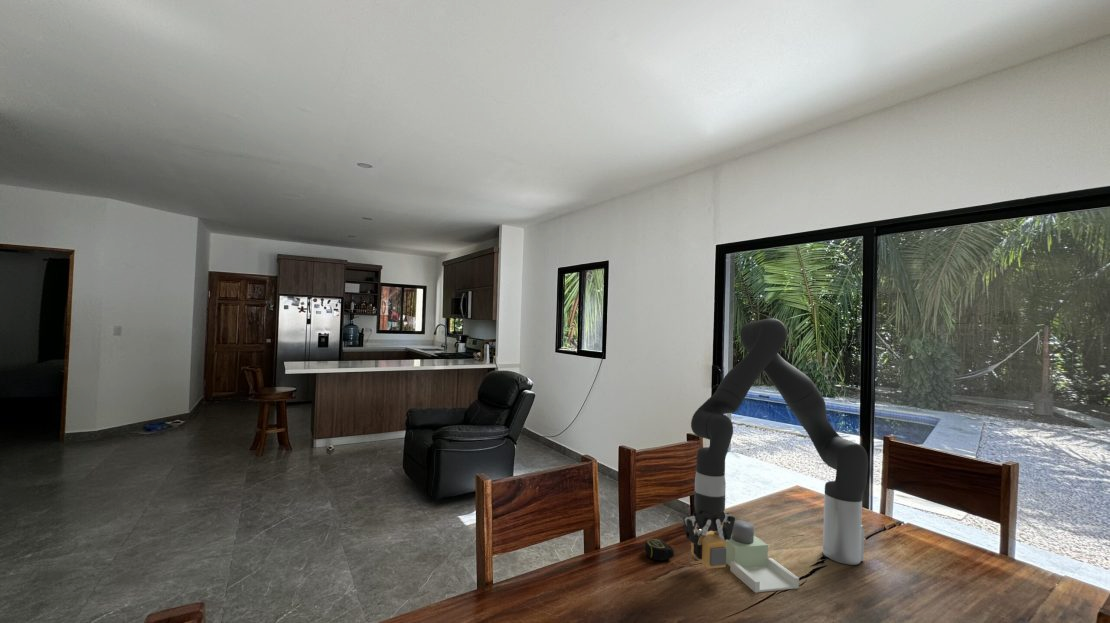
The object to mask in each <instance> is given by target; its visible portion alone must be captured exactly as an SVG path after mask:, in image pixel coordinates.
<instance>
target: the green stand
mask: <svg viewBox="0 0 1110 623" xmlns="http://www.w3.org/2000/svg"><path fill="white" fill-rule="evenodd" d="M725 542H726V566H729V568H730V572H731V573H732V574H733V575H734V576H736V577H737V578H738V579H739V580H740V581H741V582H742V583H743V584H744V585H746V587H748V588H749V589H751V590H752V591H753V592H754V593H756V594H757V593H765V592H773V591H774V592H775V591H783V590H794V589H796V590H797V589H799V588H800V578H799V577H798V576H797V575H795V574H794V573H793V572H792V571H790V570H789V569H787V568H786V567H785V566H783V565H782V564H781V563H779V562H778V561H777V560H776V559H773V558H772V557H768V554H769V544H767V543H766V542H765V541H763V540H762V539H760V538H759V537H757V536H756V535H755V525H754V524H752V523H751V522H748V521H746V520H740V519H737V520H736V519H735V522H734V526H733V530H732V535H731V539H730V540H725Z"/></svg>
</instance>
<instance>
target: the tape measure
mask: <svg viewBox="0 0 1110 623" xmlns="http://www.w3.org/2000/svg"><path fill="white" fill-rule="evenodd" d="M644 552H645V554H646V556H647V557H649V558H650V559H652V560H656V561H665V560H668V559H669V560H670V559H672V558H673V557H674V556H675V551H674V548H673V547H671V545H669V544H668V543H666V542H665V541H664V540H663V539H662V538H650V539H648V540H646V541H645V544H644Z"/></svg>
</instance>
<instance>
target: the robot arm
mask: <svg viewBox="0 0 1110 623" xmlns="http://www.w3.org/2000/svg"><path fill="white" fill-rule="evenodd" d="M739 334H740V335H739V336H740V341H741V342H742V343H741V344H742V345H743V348H744V349H745V350H746V352H748V353H747V354H746V355H745V357H743V358H742V360H740V361H739V362H737V363H736V365H735V366H734V367H732V368H731V369H730V370H729V371H728V373H726V374H725V376H724V377H723V378H722V380H721V382H720V384H719V385H718V386H717V388H716V390H715V391H714V393H713V394H712V396H710V397H709V398H707V400H706V401H705V402H704V403H703V404H701V405H700V407H698V408H697V410H696V411H695V412H694V413H693V415H692V418H691V420H690V428H691V430H692V432H693V434H694V435H695V436H697V437H700V438H702V439H706V440H709V441H710V444H709V446H708V447H706V446H705V447H701V448H699V449H698V450H697V452H696V467H695V476H694V477H695V479H694V502H693V505H694V512H693V515H691V516H687V515H686V516H683V518H682V521H683V525H684V531H685V537H686V539H687V540H689V541H690V543H691V542H692V543H694V555H695V556H696V557H697V558H698V559H702V545H701V544H702V541H703V538H704V537H705V536H706V534H707V532H709V531H712V532H713V533H714V534H716V535H717V536H718V537H719V538H721V539H722V540H724V541H725V540H730V539H731V535H732V530H733V526H734V522H735V520H736V517H735V516H734V515H732V514H730V513H725V510H726V490H727V489H726V487H727V486H726V485H727V484H726V457H727V455H728V450H729V448H730V445H731V441H732V438H733V435H734V425H733V422H732V420H731V419H730V418H729V416H727V414H734V413H736V412H738V410H739V408H740V407H741V405H742V403H743V401H744V400H745V398H746V397H747V395H748V393H749V391H750V390H751V388H752V386H753V385H754V383H755V382H756V381H757V379H758V377H760V376H761V374H762V373H763V372H764V373H765V374H766V376H767V377H768V379H769V380H770V381H771V382H772V384H773V385H774V387H775V388H776V390H777V391H778V393H779V394H780V396H781V397H782V399H783V400H784V402H785V404H786V405H787V406H788V407H789V409H790V411H791V412H792V413H793V415H794V416H795V418H796V419H797V420H798V422H799V424H800V425H801V426H802V428H803V429H804V431H805V432H806V433H807V435H808V437H809V439H810V440H811V442H812V444H813V446H814V448H815V450H816V451H817V454H818V456H819V457H820V458H821V460H822V462H823V463H824V464H826V465H827V466H828V467H829V468H831V469H833V470H836V471H835V473H836V474H835V479H834V480H830V481H827V482H825V485H824V497H823V498H824V501H823V502H824V504H823V532H822V533H823V534H822V553H823V555H824V556H825V557H826V558H829V560H832V561H834V562H837V563H840V564H844V565H851V566H852V565H853V566H855V565H856V566H857V565H860V564H861V562H863V561H864V556H865V555H864V554H865V553H864V551H865V548H864V547H865V526H864V525H863V524H862V519H863V518H862V517H863V497H864V496H863V495H864V493H865V492H866V489H867V484H868V483H867V482H868V472H869V471H868V470H869V457H868V453H867V451H866V449H865V448H864V447H863V445H861V444H860V443H857V442H855V441H853V440H848V439H846V438H843V437H842V436H841V435H840V434H839V433H838V432H837V431H836V430H835V429H834V428H835V427H833V425H832V424H831V423H830V421H829V419H828V417H827V406H826V401H825V399H824V397H823V395H822V394H821V392H820V391H819V389H818V388H817V386H816V385H815V383H814V382H813V380H812V379H811V378H810V377H809V376H808V375H807V374H805V373H804V372H802V371H801V370H800V369H798V368H796V367H795V366H794V365H792V364H791V363H789V362H788V361H787V360H785V359H784V358H783V357H782V356H781V355H780V354H779V353H780V351H781V350H782V348H784V347H785V345H786V342H787V340H788V331H787V328H786V326H785V324H784V323H783V322H782V321H781V320H779V319H777V318H773V317H772V318H770V317H769V318H765V319H759V320H758V319H757V320H753V321H750V322H748V323H745V324H744V325H742V327H741V329H740V333H739ZM695 523H696V524H695ZM701 529H702V531H701ZM694 530H695V533H694ZM698 536H699V537H698ZM694 555H693V556H694ZM695 556H694V557H695ZM696 557H695V558H696ZM697 558H696V559H697ZM698 559H697V560H698Z"/></svg>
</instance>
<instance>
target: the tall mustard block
mask: <svg viewBox="0 0 1110 623" xmlns="http://www.w3.org/2000/svg"><path fill="white" fill-rule="evenodd" d="M700 529H701V528H700ZM701 531H702V529H701ZM694 533H695V529H694ZM698 537H699V536H698ZM701 545H702V559H698V558H697V557H696V556H695V555H694V543H692V542H691V541H690V554H691V555H692V556H694V558H696V559H697V561H699V562H700V563H701V564H702V565H703V566H704V567H705V568H707V569H708V570H709V569H718V568H726V566H727V564H726V542H725V541H724V540H722V539H721V538H719V537H718V536H717V535H716V534H714V532H713V531H709V532H707V534H706V536H705V537H704V538H703V541H702V544H701Z"/></svg>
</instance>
